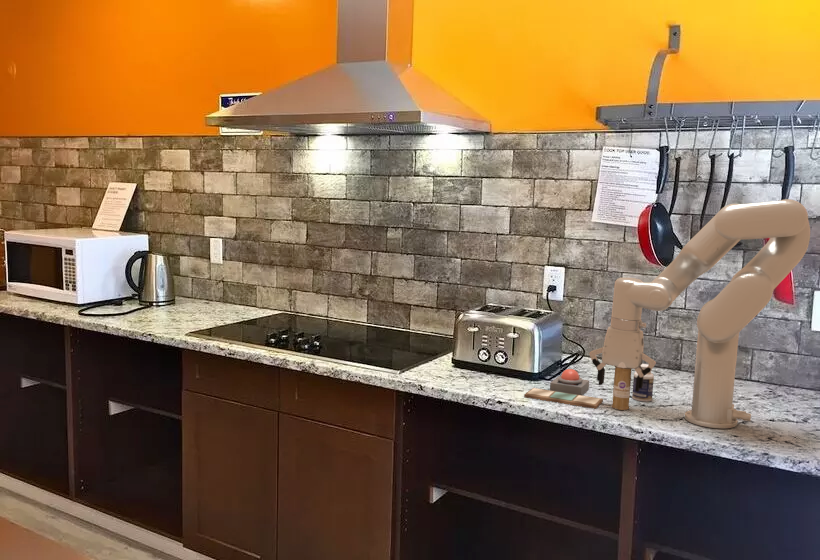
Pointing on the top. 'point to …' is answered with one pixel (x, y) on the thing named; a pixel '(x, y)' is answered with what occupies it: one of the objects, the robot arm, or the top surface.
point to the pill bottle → (644, 386)
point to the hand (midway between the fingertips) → (619, 387)
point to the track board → (564, 398)
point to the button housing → (569, 387)
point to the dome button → (570, 377)
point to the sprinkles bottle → (621, 387)
